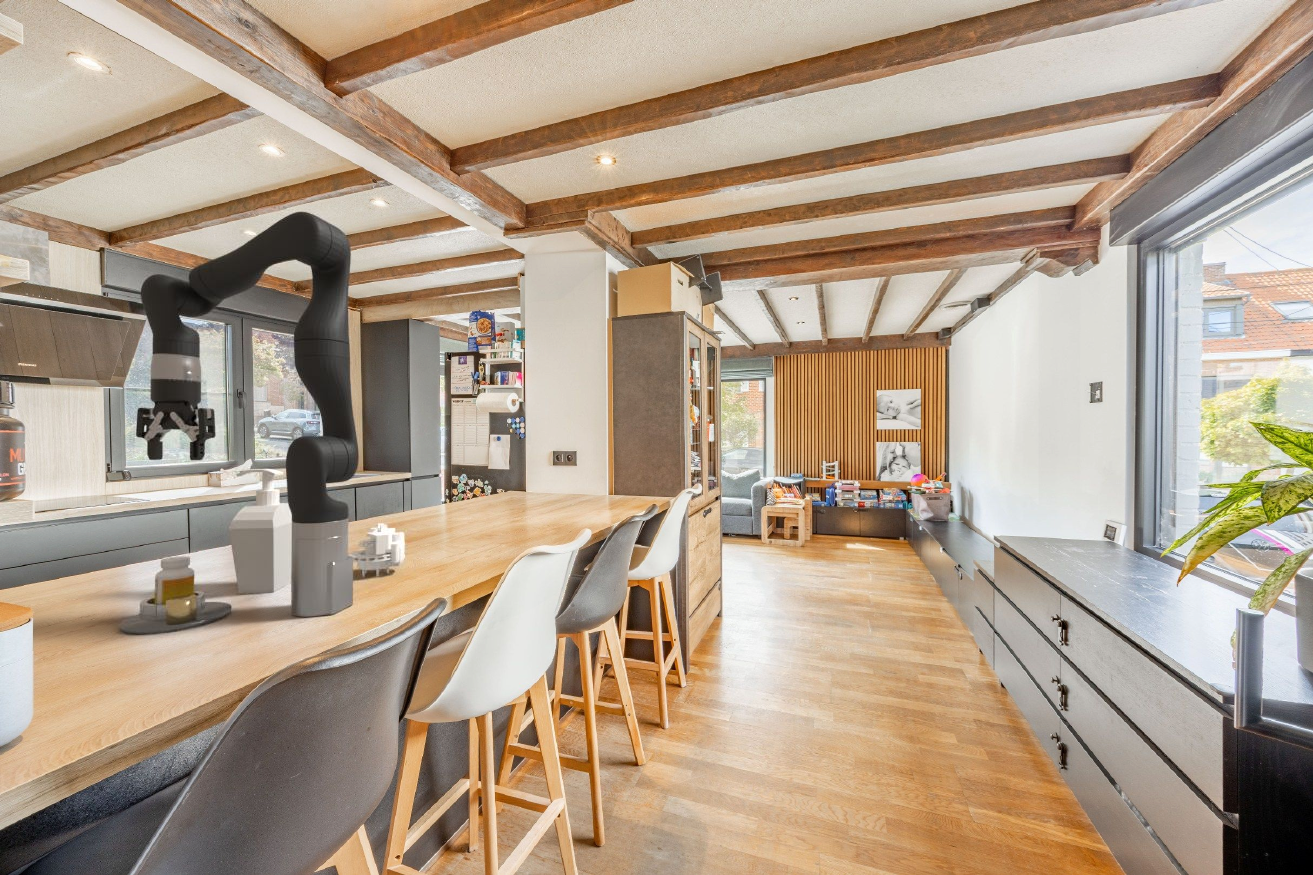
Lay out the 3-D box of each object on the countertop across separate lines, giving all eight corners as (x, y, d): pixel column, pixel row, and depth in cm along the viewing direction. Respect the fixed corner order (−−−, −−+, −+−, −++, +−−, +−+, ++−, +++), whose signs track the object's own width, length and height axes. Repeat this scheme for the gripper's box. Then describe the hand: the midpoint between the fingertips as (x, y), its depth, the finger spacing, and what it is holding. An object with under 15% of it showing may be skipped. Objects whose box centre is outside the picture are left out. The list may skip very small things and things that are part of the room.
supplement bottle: (201, 607, 100) (202, 555, 100) (171, 616, 95) (172, 562, 95) (177, 605, 101) (178, 554, 101) (145, 614, 95) (147, 560, 96)
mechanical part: (353, 570, 131) (353, 522, 131) (406, 566, 136) (406, 520, 136) (344, 582, 121) (344, 530, 121) (402, 577, 125) (403, 527, 125)
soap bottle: (253, 580, 121) (254, 467, 121) (302, 579, 123) (302, 467, 123) (218, 596, 109) (219, 471, 109) (273, 594, 111) (273, 471, 111)
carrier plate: (252, 606, 103) (252, 582, 103) (179, 635, 88) (179, 606, 88) (178, 604, 104) (178, 580, 104) (93, 633, 89) (93, 604, 89)
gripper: (226, 381, 110) (226, 459, 110) (160, 380, 110) (160, 458, 110) (193, 377, 102) (192, 461, 102) (122, 376, 103) (122, 460, 103)
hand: (175, 460), depth 106 cm, fingers open, 8 cm apart
